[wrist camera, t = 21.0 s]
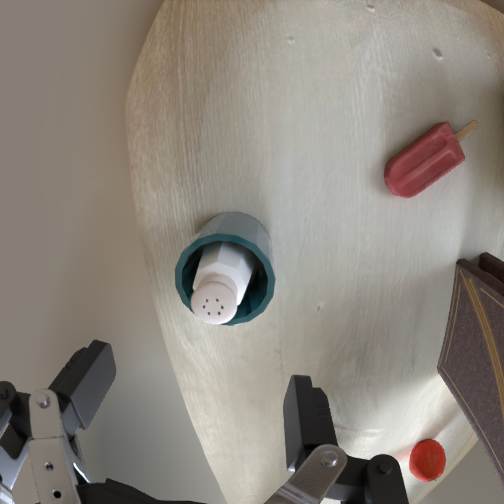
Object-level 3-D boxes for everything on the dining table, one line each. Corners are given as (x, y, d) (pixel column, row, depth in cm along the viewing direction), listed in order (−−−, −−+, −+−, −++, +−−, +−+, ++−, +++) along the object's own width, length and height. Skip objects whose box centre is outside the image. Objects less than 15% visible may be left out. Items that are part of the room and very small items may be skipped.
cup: (187, 262, 28) (162, 299, 21) (216, 198, 26) (198, 215, 18) (250, 293, 29) (246, 338, 21) (284, 233, 27) (293, 263, 19)
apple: (400, 458, 42) (412, 494, 32) (410, 441, 40) (425, 480, 30) (430, 448, 42) (444, 481, 32) (442, 429, 39) (459, 465, 29)
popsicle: (489, 139, 20) (403, 208, 24) (480, 139, 22) (395, 204, 26) (473, 103, 19) (381, 167, 23) (464, 104, 21) (374, 166, 25)
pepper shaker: (206, 275, 28) (177, 342, 17) (200, 221, 26) (162, 265, 16) (261, 273, 27) (260, 343, 17) (259, 219, 26) (257, 262, 15)
